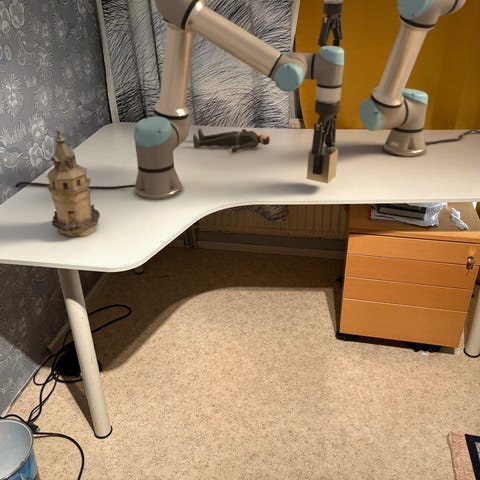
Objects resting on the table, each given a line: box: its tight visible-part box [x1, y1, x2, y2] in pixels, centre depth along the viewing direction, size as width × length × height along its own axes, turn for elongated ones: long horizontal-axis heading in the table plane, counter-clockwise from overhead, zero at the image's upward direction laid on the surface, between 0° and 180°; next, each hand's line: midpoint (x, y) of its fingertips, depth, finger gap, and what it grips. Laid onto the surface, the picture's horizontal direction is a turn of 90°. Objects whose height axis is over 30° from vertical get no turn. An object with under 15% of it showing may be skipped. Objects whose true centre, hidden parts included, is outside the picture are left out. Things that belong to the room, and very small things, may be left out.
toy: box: [192, 128, 271, 155], centre depth 214 cm, size 26×6×30 cm
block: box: [306, 145, 339, 184], centre depth 174 cm, size 7×7×10 cm
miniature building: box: [46, 129, 101, 237], centre depth 148 cm, size 13×14×30 cm
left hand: (321, 169), depth 175 cm, fingers closed on block, 7 cm apart
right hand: (329, 59), depth 217 cm, fingers open, 13 cm apart
